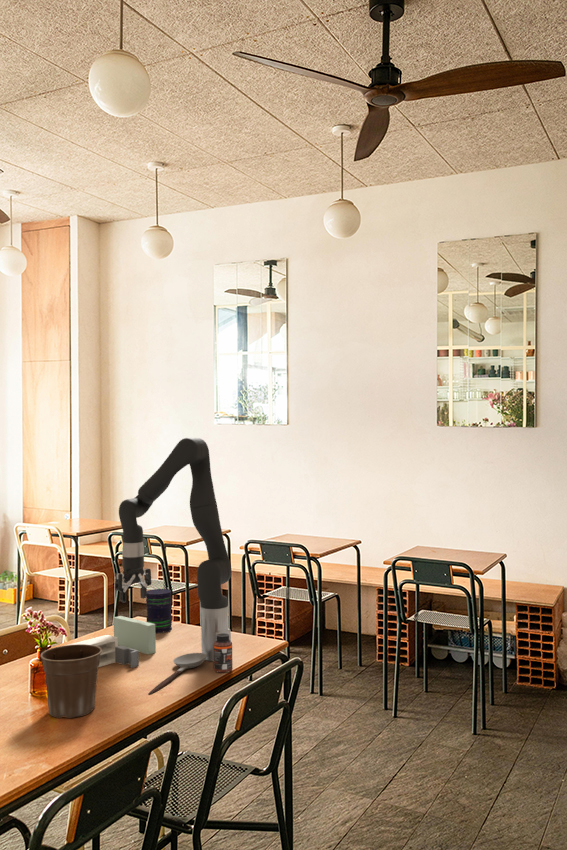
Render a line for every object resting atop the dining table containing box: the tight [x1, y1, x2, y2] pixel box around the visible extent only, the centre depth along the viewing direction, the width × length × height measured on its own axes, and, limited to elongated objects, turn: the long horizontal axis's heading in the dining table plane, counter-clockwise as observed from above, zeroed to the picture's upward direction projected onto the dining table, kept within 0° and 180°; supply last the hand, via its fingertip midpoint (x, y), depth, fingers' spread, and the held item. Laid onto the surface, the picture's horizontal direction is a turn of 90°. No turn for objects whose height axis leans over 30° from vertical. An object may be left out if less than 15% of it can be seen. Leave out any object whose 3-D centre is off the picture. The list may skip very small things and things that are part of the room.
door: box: [113, 615, 157, 656], centre depth 260 cm, size 4×20×10 cm, turn 49°
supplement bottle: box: [213, 633, 233, 674], centre depth 233 cm, size 6×6×11 cm
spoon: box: [148, 652, 207, 695], centre depth 227 cm, size 11×33×3 cm, turn 161°
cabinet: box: [64, 634, 140, 669], centre depth 236 cm, size 16×23×8 cm
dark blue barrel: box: [145, 588, 173, 634], centre depth 285 cm, size 10×10×15 cm
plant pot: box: [40, 644, 102, 719], centre depth 201 cm, size 16×16×16 cm
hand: (133, 600), depth 260 cm, fingers open, 8 cm apart
